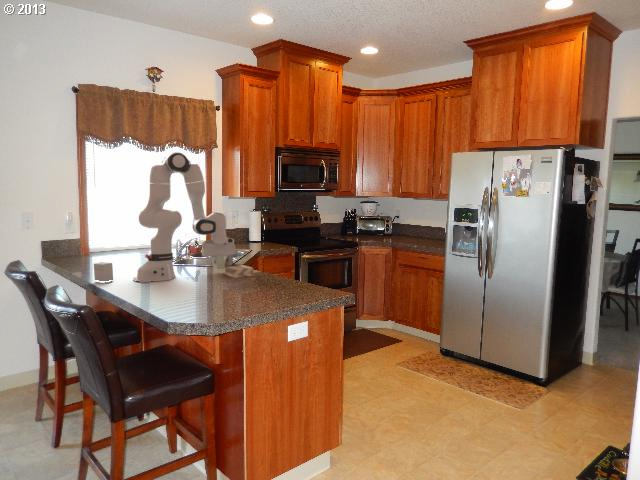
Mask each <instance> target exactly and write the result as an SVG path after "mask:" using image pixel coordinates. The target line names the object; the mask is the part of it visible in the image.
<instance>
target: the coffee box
mask: <svg viewBox="0 0 640 480" xmlns="http://www.w3.org/2000/svg"><path fill="white" fill-rule="evenodd" d="M233 264H234V255H228V257H227V259H226V263H225V266H233Z"/></svg>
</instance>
